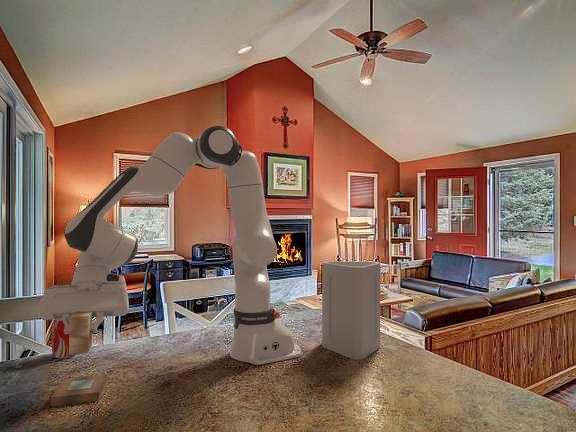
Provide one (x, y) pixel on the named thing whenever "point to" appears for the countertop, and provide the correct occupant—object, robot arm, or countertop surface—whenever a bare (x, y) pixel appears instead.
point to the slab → (79, 390)
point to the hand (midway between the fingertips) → (80, 331)
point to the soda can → (60, 340)
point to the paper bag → (351, 307)
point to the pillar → (80, 333)
